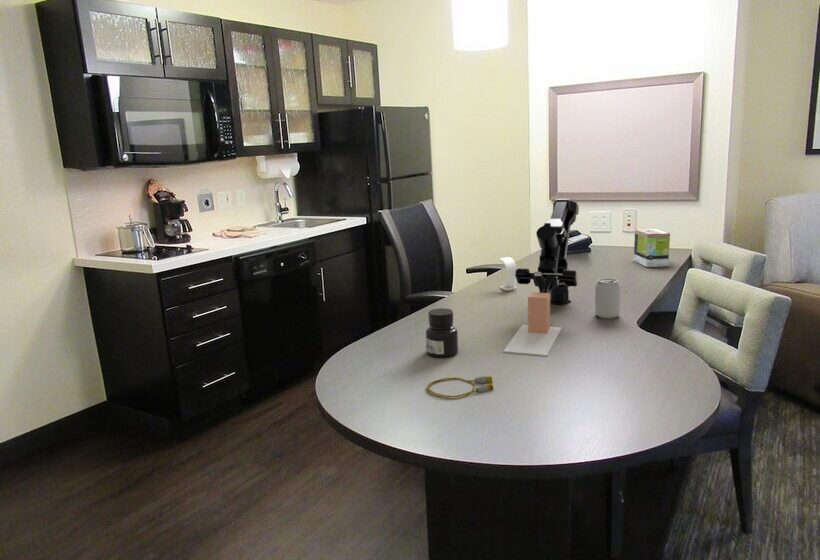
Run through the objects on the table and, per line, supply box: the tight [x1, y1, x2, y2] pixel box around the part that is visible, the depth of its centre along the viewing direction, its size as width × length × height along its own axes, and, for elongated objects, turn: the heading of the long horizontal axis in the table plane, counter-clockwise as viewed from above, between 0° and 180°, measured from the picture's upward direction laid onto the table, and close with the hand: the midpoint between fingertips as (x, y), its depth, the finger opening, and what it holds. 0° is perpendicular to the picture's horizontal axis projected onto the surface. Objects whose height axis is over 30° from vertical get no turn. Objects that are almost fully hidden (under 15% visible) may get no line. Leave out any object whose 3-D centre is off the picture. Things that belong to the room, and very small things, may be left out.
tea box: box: [633, 228, 671, 268], centre depth 253 cm, size 15×10×15 cm, turn 179°
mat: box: [502, 324, 562, 357], centre depth 167 cm, size 24×12×1 cm, turn 157°
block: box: [527, 291, 551, 334], centre depth 173 cm, size 6×6×11 cm
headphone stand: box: [498, 256, 518, 292], centre depth 224 cm, size 5×6×12 cm
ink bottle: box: [425, 307, 459, 359], centre depth 160 cm, size 10×9×12 cm
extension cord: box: [426, 375, 495, 400], centre depth 137 cm, size 12×16×2 cm
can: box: [594, 277, 621, 320], centre depth 184 cm, size 8×8×12 cm
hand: (542, 300), depth 177 cm, fingers closed
